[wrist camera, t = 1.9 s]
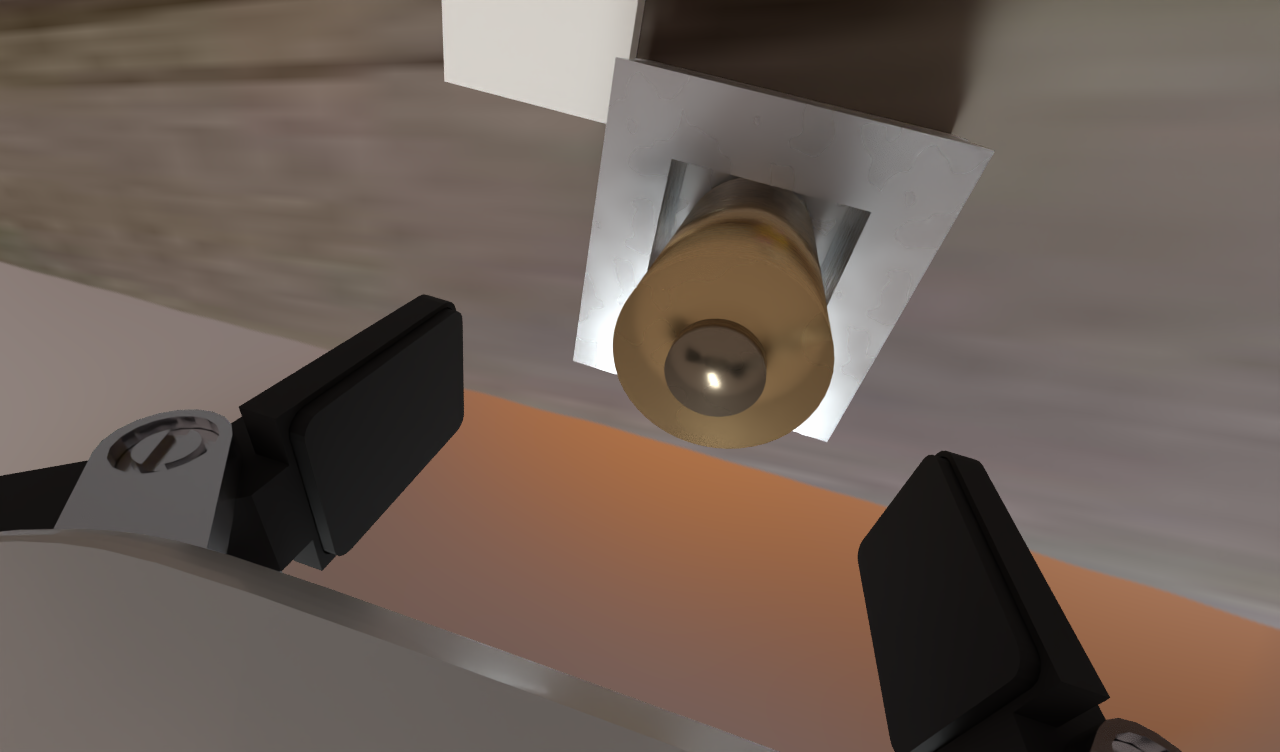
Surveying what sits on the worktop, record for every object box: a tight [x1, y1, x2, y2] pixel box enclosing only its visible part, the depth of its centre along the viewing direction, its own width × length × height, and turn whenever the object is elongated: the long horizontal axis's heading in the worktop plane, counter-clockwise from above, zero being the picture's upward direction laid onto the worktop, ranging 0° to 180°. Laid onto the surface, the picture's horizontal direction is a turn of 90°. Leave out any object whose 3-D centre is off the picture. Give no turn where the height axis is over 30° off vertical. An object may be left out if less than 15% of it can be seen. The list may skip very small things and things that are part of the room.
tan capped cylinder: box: [613, 178, 835, 449], centre depth 16 cm, size 5×5×11 cm
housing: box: [573, 57, 995, 442], centre depth 19 cm, size 12×11×6 cm
